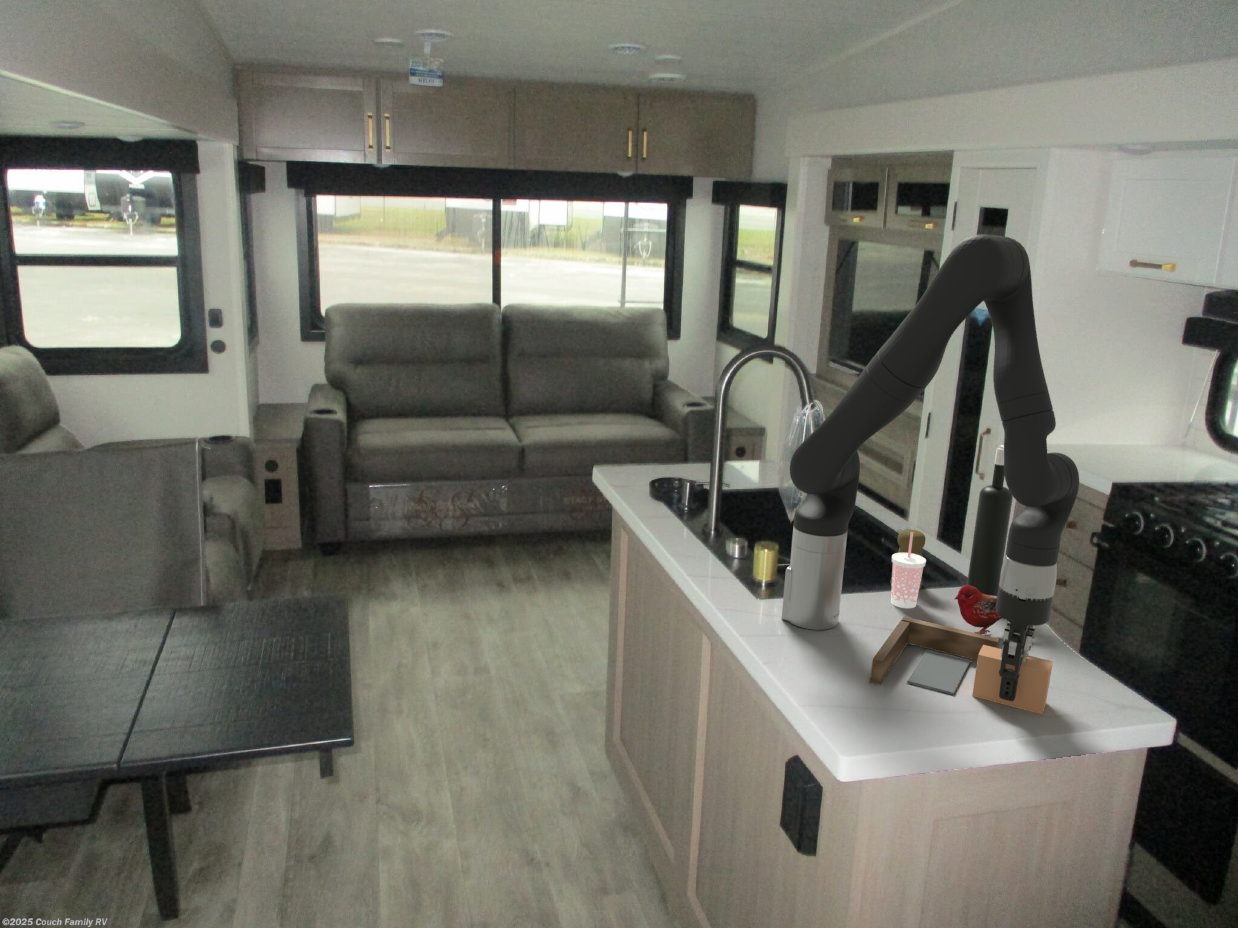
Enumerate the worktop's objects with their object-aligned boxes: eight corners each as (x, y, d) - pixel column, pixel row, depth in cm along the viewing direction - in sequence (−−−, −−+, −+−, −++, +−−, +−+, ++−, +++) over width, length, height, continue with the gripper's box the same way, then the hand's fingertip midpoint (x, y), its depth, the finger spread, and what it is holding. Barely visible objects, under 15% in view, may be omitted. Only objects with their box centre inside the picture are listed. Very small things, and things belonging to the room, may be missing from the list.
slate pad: (907, 682, 153) (907, 680, 153) (926, 651, 164) (926, 649, 164) (953, 695, 149) (953, 692, 149) (970, 662, 160) (970, 660, 160)
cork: (923, 591, 189) (930, 537, 186) (891, 588, 190) (897, 534, 187) (920, 580, 195) (927, 527, 192) (889, 576, 196) (895, 524, 193)
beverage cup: (926, 608, 181) (935, 537, 177) (896, 611, 180) (905, 538, 176) (909, 595, 187) (918, 526, 183) (880, 597, 185) (888, 527, 182)
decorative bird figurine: (942, 637, 169) (950, 583, 167) (1019, 623, 176) (1027, 571, 174) (954, 644, 167) (962, 590, 164) (1032, 629, 174) (1040, 577, 171)
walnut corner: (870, 681, 153) (872, 658, 152) (901, 637, 169) (903, 616, 168) (973, 709, 145) (977, 685, 144) (995, 660, 161) (999, 638, 160)
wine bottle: (966, 602, 185) (987, 448, 177) (964, 590, 190) (985, 440, 182) (998, 606, 183) (1021, 451, 176) (995, 594, 189) (1018, 444, 181)
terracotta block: (972, 696, 150) (978, 654, 148) (977, 685, 153) (983, 644, 151) (1042, 714, 145) (1049, 671, 143) (1045, 703, 148) (1052, 661, 146)
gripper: (1007, 566, 152) (992, 664, 156) (991, 597, 140) (975, 702, 144) (1059, 577, 148) (1043, 676, 153) (1047, 609, 136) (1030, 716, 141)
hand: (1010, 688), depth 148 cm, fingers open, 6 cm apart
